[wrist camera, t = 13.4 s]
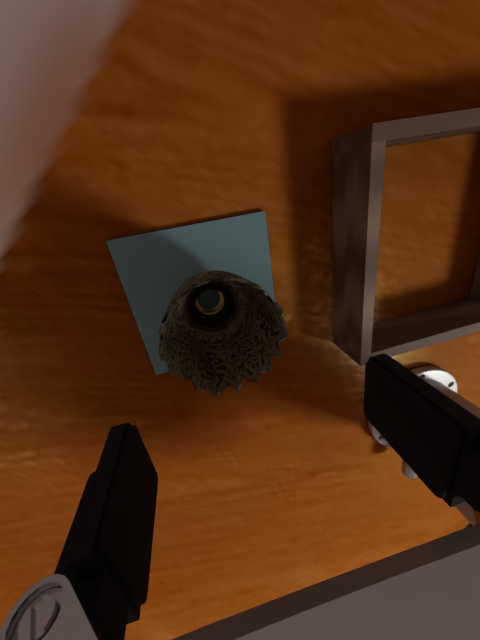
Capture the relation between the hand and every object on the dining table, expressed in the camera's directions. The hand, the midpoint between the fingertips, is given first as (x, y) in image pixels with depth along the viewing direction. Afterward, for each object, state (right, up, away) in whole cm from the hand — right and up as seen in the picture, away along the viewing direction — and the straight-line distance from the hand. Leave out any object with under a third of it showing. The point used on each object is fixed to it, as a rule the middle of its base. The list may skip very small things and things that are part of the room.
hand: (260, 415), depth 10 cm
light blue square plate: (-4, +6, +12) cm, 14 cm away
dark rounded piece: (-3, +6, +12) cm, 14 cm away
